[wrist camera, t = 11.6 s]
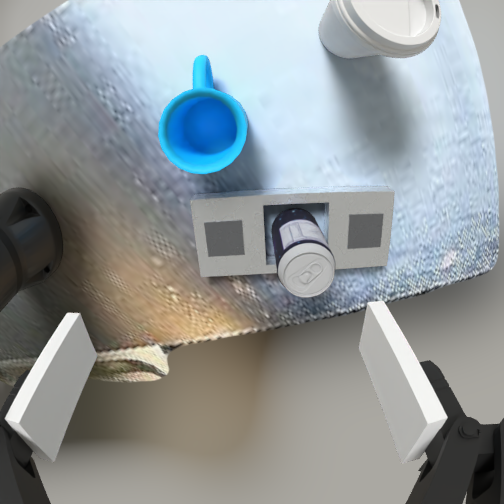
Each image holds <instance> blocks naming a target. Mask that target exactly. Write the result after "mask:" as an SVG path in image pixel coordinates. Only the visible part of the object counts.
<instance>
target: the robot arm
mask: <svg viewBox="0 0 504 504" xmlns="http://www.w3.org/2000/svg"><path fill="white" fill-rule="evenodd" d="M62 250H63V244H62V236H61V231H60V228H59V225H58V222H57V220H56V218H55V216H54V214H53V212H52V210H51V209H50V208H49V206H48V205H47V204H46V202H45V201H44V200H43V199H42V198H41V197H39V196H38V195H37V194H36V193H34V192H32V191H30V190H28V189H25V188H12V189H9V190H7V191H5V192H3V193H1V194H0V312H1V310H2V309H3V308H4V307H5V306H6V305H7V304H8V302H9V301H10V300H11V299H12V298H13V297H14V296H15V295H16V294H17V293H18V292H19V291H21V290H23V289H26V288H28V287H31V286H34V285H36V284H39V283H41V282H43V281H45V280H46V279H47V278H48V277H49V276H50V275H51V274H52V273H53V272H54V271H55V270H56V269H57V267H58V265H59V263H60V261H61V257H62ZM359 350H360V353H361V355H362V358H363V360H364V363H365V366H366V368H367V371H368V373H369V375H370V378H371V381H372V383H373V386H374V389H375V391H376V394H377V396H378V399H379V402H380V405H381V407H382V410H383V413H384V415H385V418H386V421H387V424H388V426H389V429H390V432H391V435H392V438H393V441H394V443H395V446H396V449H397V452H398V455H399V458H400V461H401V463H406V462H409V461H413V460H416V459H419V458H420V457H421V456H422V454H423V453H424V452H426V455H427V457H428V459H427V460H426V461H425V463H424V464H423V465H422V466H421V468H420V469H419V471H421V473H420V475H419V478H418V480H417V482H416V484H415V486H414V488H413V490H412V492H411V494H410V496H409V498H408V500H407V502H406V504H462V503H463V500H464V498H465V495H466V492H467V496H466V504H504V418H503V420H502V421H501V422H500V424H488V425H487V424H486V425H483V424H480V423H479V422H478V421H477V420H475V419H473V418H471V417H467V416H466V415H465V413H464V412H463V410H462V408H461V406H460V404H459V402H458V401H457V399H456V397H455V395H454V393H453V391H452V390H451V388H450V387H449V384H448V383H447V381H446V380H445V378H444V376H443V374H442V372H441V370H440V369H439V368H438V367H437V366H436V365H435V364H434V363H433V362H431V361H430V360H429V361H424V362H418V360H417V358H416V356H415V354H414V353H413V351H412V349H411V347H410V345H409V344H408V342H407V340H406V338H405V337H404V335H403V333H402V331H401V330H400V328H399V326H398V325H397V323H396V322H395V320H394V318H393V316H392V315H391V313H390V311H389V310H388V308H387V306H386V305H385V303H384V301H378V302H368V304H367V309H366V315H365V320H364V325H363V330H362V336H361V340H360V345H359ZM96 358H97V354H96V351H95V349H94V347H93V344H92V342H91V340H90V337H89V335H88V332H87V330H86V327H85V325H84V322H83V320H82V317H81V314H80V313H67V314H66V315H65V317H64V318H63V320H62V321H61V323H60V324H59V326H58V327H57V329H56V331H55V332H54V334H53V335H52V337H51V338H50V340H49V341H48V343H47V345H46V346H45V348H44V350H43V351H42V353H41V354H40V356H39V358H38V359H37V361H36V363H35V364H34V366H33V368H32V369H31V371H29V370H27V371H25V372H24V373H23V374H22V375H21V376H20V377H19V379H18V380H17V382H16V384H15V385H14V388H13V389H12V391H11V393H10V395H9V396H8V398H7V400H6V402H5V403H4V405H3V407H2V409H1V411H0V504H51V503H50V501H49V498H48V496H47V494H46V491H45V489H44V486H43V484H42V481H41V479H40V476H39V473H38V470H37V468H36V465H35V462H34V460H33V458H32V457H31V455H32V452H34V453H35V454H36V455H37V456H38V457H39V458H41V459H43V460H47V461H50V462H53V463H54V462H55V459H56V456H57V453H58V450H59V448H60V445H61V442H62V440H63V437H64V434H65V432H66V429H67V426H68V424H69V421H70V419H71V416H72V414H73V411H74V409H75V406H76V404H77V401H78V399H79V397H80V394H81V392H82V390H83V387H84V385H85V383H86V380H87V378H88V376H89V374H90V371H91V369H92V367H93V365H94V362H95V360H96Z"/></svg>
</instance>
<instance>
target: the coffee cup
mask: <svg viewBox="0 0 504 504" xmlns="http://www.w3.org/2000/svg"><path fill="white" fill-rule="evenodd" d="M440 22H441V9H440V4H439V1H438V0H330V1H329V3H328V6H327V8H326V10H325V12H324V14H323V17H322V19H321V21H320V23H319V29H318V31H319V37H320V40H321V42H322V43H323V45H324V46H325V47H326V48H327V49H328V50H329V51H330V52H331V53H333V54H334V55H336V56H339V57H342V58H348V59H352V58H359V57H366V56H374V55H383V56H387V57H392V58H408V57H413V56H415V55H418V54H420V53H422V52H423V51H424V50H426V49H427V48H428V47H429V46H430V45H431V44H432V42H433V41H434V39H435V37H436V35H437V33H438V29H439V26H440Z"/></svg>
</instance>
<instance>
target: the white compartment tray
mask: <svg viewBox="0 0 504 504" xmlns="http://www.w3.org/2000/svg"><path fill="white" fill-rule="evenodd" d="M394 192H395V191H393V190H392V189H390V188H389V187H388V186H339V187H305V188H282V189H262V190H245V191H230V192H216V193H204V194H194V195H193V196H192V198H191V200H190V203H191V211H192V218H193V226H194V233H195V240H196V247H197V253H198V260H199V267H200V273H201V277H211V276H231V275H250V274H268V273H277V268H276V260H275V255H273V256H266V251H265V232H264V213H263V205H280V204H301V203H325V218H324V238H325V240H326V242H327V244H328V246H329V248H330V250H331V252H332V254H333V256H334V259H335V265H336V266H335V269H348V268H362V267H376V266H387V260H388V253H389V245H390V236H391V227H392V216H393V205H394Z"/></svg>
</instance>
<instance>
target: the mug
mask: <svg viewBox="0 0 504 504" xmlns="http://www.w3.org/2000/svg"><path fill="white" fill-rule="evenodd" d="M247 128H248V120H247V116H246V112H245V111H244V109H243V107H242V106H241V104H240V103H239V102H238V101H237V100H236V99H234V98H233V97H232V96H230V95H228V94H226V93H223V92H221V91H218V90H215V89H214V84H213V76H212V70H211V65H210V61H209V59H208V57H207V56H206V55H200V56H198V57H196V58H195V61H194V65H193V89H192V90H188V91H185V92H183V93H181V94H180V95H178V96H177V97H175V98H174V99H172V101H171V102H170V103H169V104H168V106H167V107H166V108H165V109H164V111H163V114H162V116H161V119H160V122H159V134H158V137H159V140H160V144H161V148H162V150H163V151H164V153H165V154H166V156H167V157H168V159H169V160H170V161H171V162H172V163H173V164H175V165H176V166H177V167H178V168H180V169H182V170H185V171H188V172H190V173H196V174H208V173H212V172H216V171H220V170H221V169H223V168H225V167H226V166H228V165H230V164H231V163H232V162H233V161H234V160H235V158H236V157H237V156H238V155H239V154H240V152H241V150H242V148H243V145H244V143H245V141H246V136H247Z"/></svg>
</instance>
